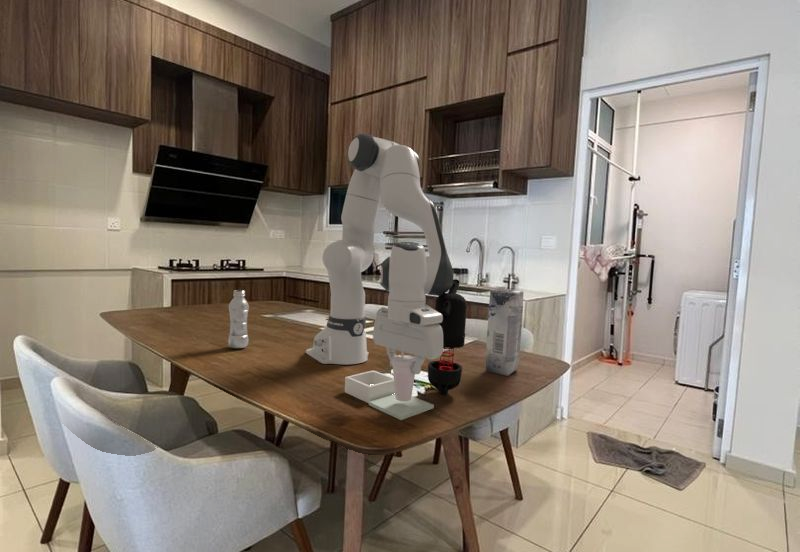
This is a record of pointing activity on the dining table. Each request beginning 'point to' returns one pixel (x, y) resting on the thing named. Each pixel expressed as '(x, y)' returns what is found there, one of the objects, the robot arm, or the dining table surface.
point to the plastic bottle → (238, 320)
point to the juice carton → (504, 330)
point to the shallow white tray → (363, 390)
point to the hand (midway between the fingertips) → (404, 369)
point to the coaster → (401, 406)
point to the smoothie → (403, 376)
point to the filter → (449, 339)
